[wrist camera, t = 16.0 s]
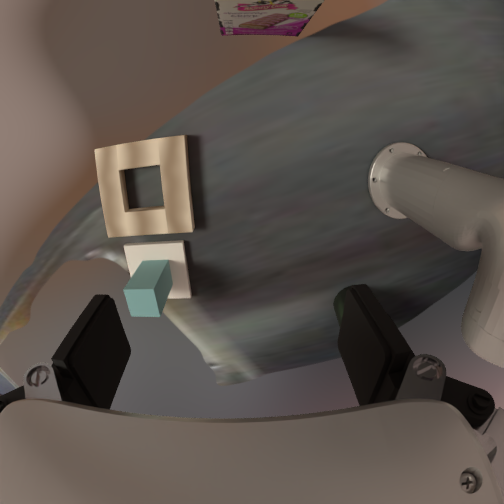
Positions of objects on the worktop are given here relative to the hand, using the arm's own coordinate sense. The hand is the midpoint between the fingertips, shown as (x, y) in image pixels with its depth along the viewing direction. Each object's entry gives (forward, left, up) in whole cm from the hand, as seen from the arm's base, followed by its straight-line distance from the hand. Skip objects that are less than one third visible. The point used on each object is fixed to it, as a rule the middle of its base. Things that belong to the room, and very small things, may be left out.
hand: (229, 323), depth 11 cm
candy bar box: (-4, -24, -32) cm, 41 cm away
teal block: (+14, +14, -31) cm, 37 cm away
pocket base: (+14, 0, -32) cm, 35 cm away
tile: (+14, +14, -32) cm, 38 cm away
